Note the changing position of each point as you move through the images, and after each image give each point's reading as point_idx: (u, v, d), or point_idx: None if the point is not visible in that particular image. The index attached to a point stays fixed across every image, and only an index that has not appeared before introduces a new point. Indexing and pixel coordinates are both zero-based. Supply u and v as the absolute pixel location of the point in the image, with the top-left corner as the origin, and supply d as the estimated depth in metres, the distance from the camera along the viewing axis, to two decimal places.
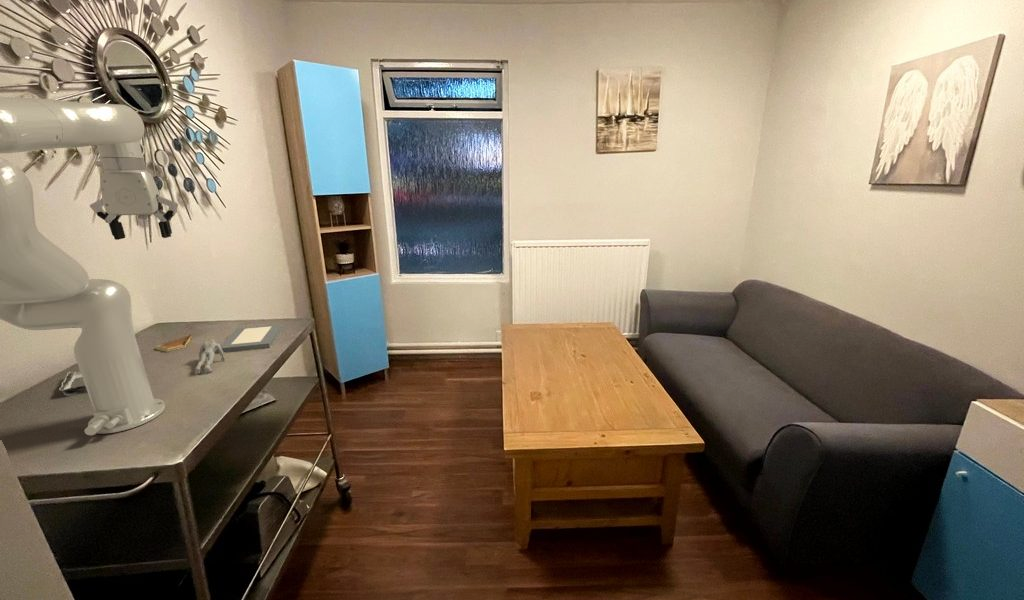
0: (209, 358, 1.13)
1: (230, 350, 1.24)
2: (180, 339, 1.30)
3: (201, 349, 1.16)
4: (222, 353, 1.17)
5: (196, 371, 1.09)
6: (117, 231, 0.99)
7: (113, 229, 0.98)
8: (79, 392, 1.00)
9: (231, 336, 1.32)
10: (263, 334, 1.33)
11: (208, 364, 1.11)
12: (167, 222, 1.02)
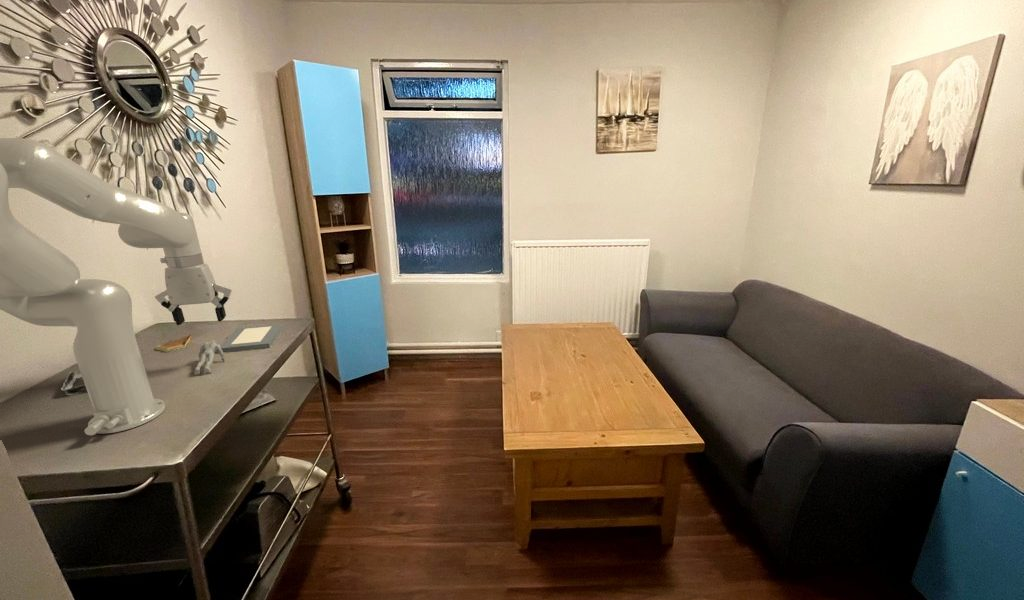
0: (209, 359, 1.13)
1: (230, 350, 1.24)
2: (180, 339, 1.30)
3: (201, 350, 1.15)
4: (222, 354, 1.17)
5: (195, 372, 1.09)
6: (179, 318, 1.09)
7: (175, 316, 1.08)
8: (81, 392, 1.00)
9: (231, 336, 1.32)
10: (263, 334, 1.33)
11: (208, 365, 1.10)
12: (222, 307, 1.12)
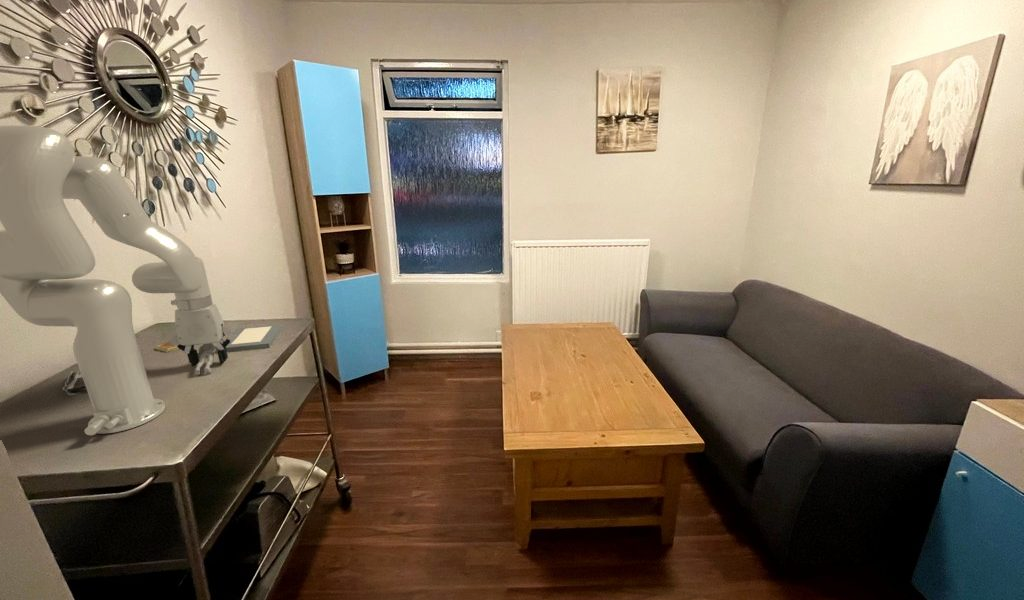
0: (208, 359, 1.12)
1: (230, 350, 1.24)
2: None
3: (200, 350, 1.15)
4: None
5: (196, 372, 1.09)
6: (194, 359, 1.13)
7: (191, 358, 1.12)
8: (82, 392, 1.00)
9: None
10: (263, 334, 1.33)
11: (208, 365, 1.10)
12: (224, 349, 1.15)
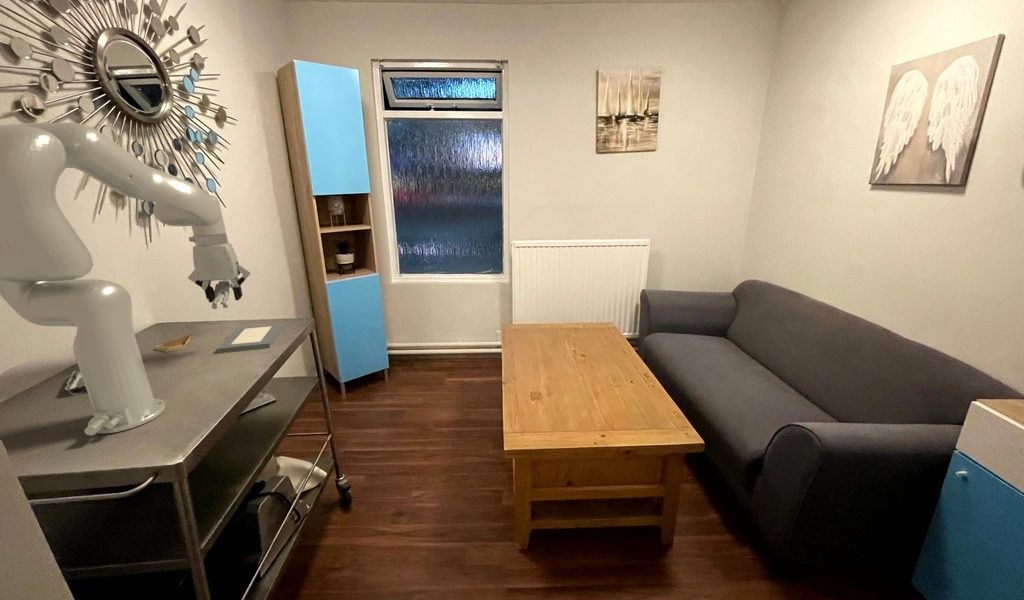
0: (224, 295, 1.18)
1: (230, 350, 1.24)
2: (180, 339, 1.30)
3: (216, 287, 1.20)
4: None
5: (213, 305, 1.14)
6: (211, 295, 1.19)
7: (208, 294, 1.18)
8: (85, 391, 1.01)
9: (231, 336, 1.32)
10: (263, 334, 1.33)
11: (224, 299, 1.16)
12: (239, 287, 1.21)
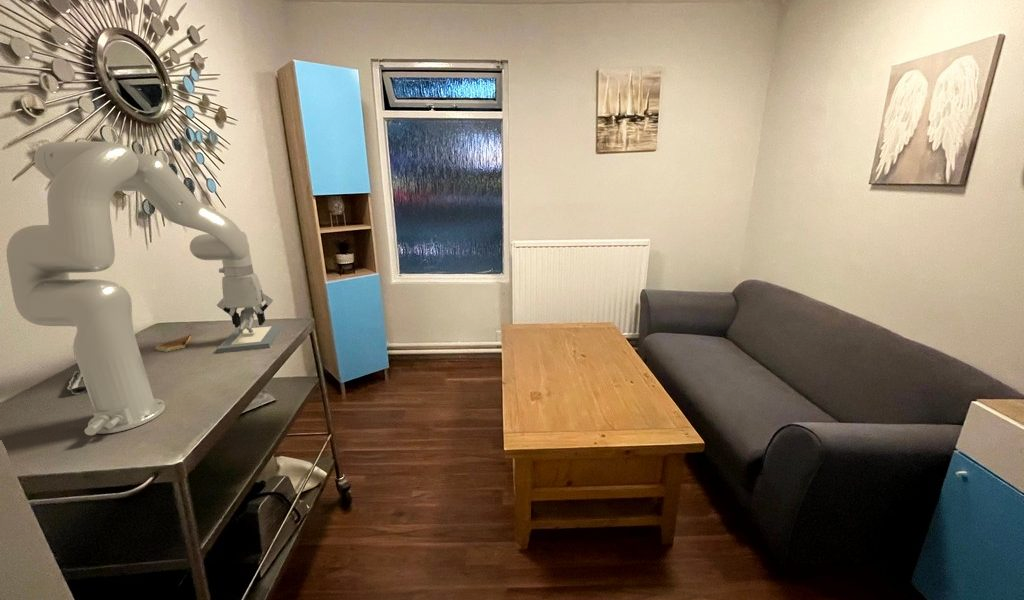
0: (250, 320, 1.29)
1: (230, 350, 1.24)
2: (180, 339, 1.30)
3: (242, 313, 1.31)
4: None
5: (240, 331, 1.25)
6: (237, 321, 1.29)
7: (234, 320, 1.29)
8: None
9: (231, 336, 1.32)
10: (263, 334, 1.33)
11: (250, 325, 1.27)
12: (262, 313, 1.32)
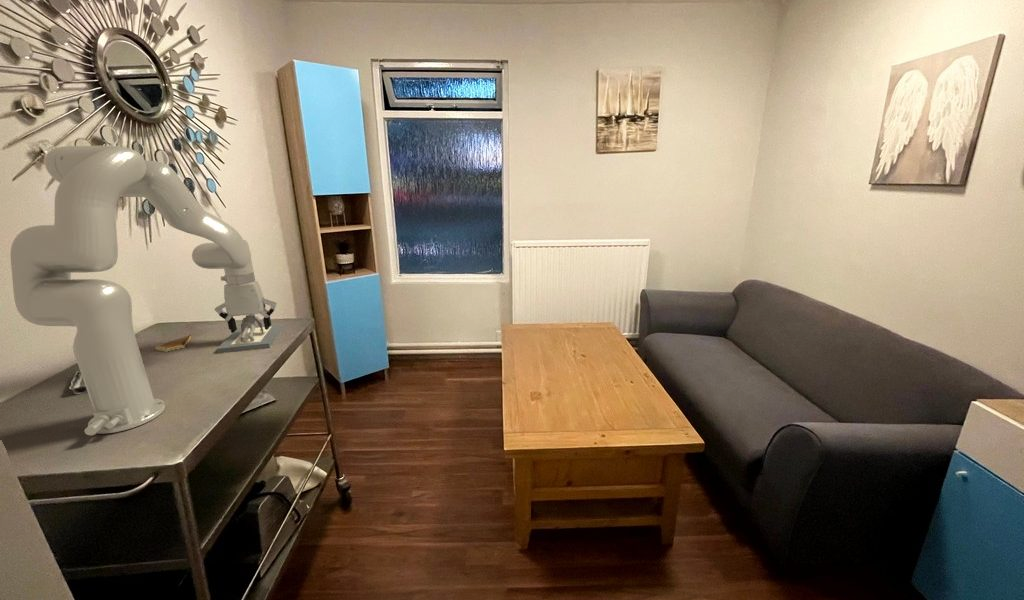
0: (251, 329, 1.30)
1: (230, 350, 1.24)
2: (180, 339, 1.30)
3: (243, 321, 1.32)
4: (261, 325, 1.34)
5: (241, 339, 1.26)
6: (233, 326, 1.30)
7: (230, 325, 1.29)
8: None
9: (231, 336, 1.32)
10: (263, 334, 1.33)
11: (251, 333, 1.27)
12: (268, 317, 1.33)
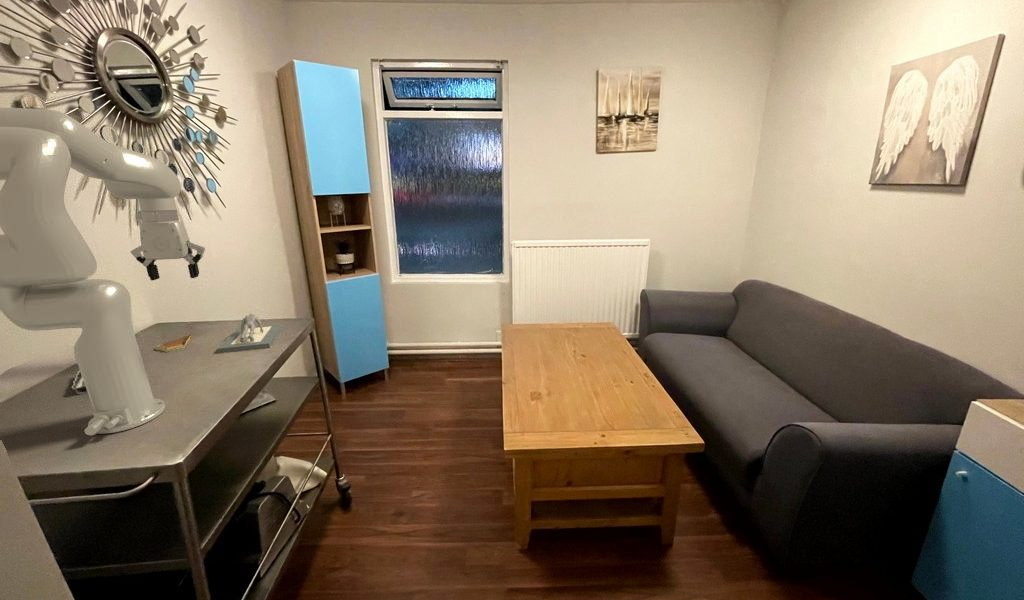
0: (251, 329, 1.29)
1: (230, 350, 1.24)
2: (180, 339, 1.30)
3: (243, 322, 1.32)
4: (261, 326, 1.34)
5: (241, 339, 1.26)
6: (153, 273, 1.13)
7: (149, 271, 1.12)
8: None
9: (231, 336, 1.32)
10: (263, 334, 1.33)
11: (251, 333, 1.27)
12: (195, 264, 1.16)
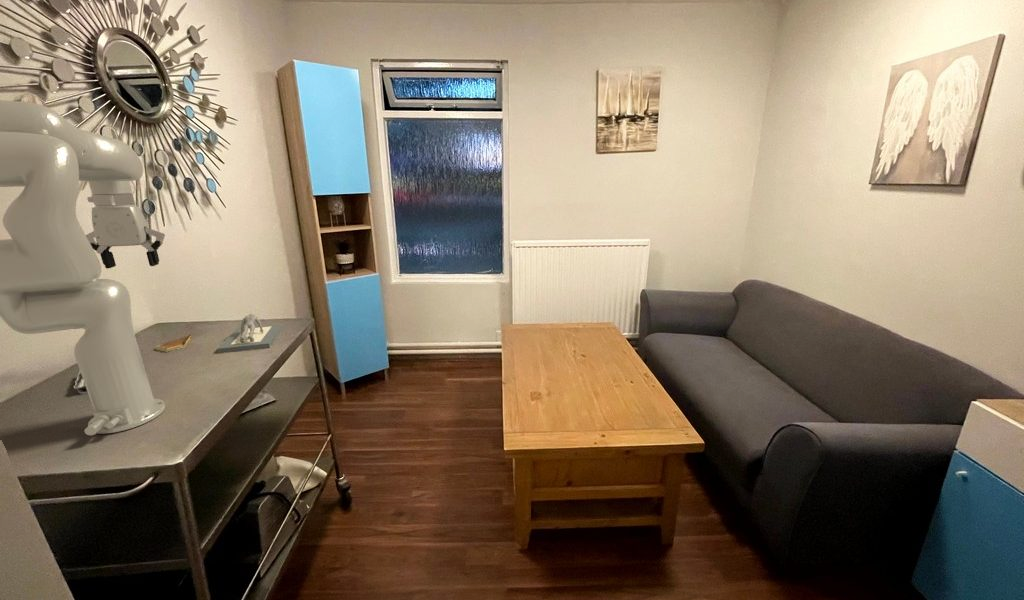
0: (251, 329, 1.29)
1: (230, 350, 1.24)
2: (180, 339, 1.30)
3: (243, 322, 1.32)
4: (261, 326, 1.34)
5: (241, 340, 1.26)
6: (108, 260, 1.06)
7: (104, 259, 1.06)
8: None
9: (231, 336, 1.32)
10: (263, 334, 1.33)
11: (251, 334, 1.27)
12: (155, 251, 1.09)
